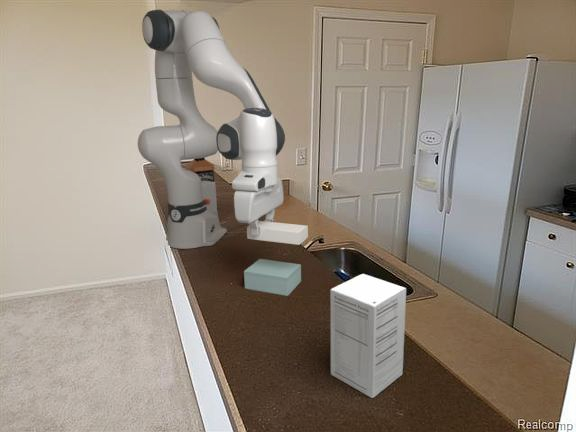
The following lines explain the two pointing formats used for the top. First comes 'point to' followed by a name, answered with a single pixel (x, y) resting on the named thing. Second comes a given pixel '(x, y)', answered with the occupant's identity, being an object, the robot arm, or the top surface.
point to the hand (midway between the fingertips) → (262, 230)
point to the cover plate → (280, 232)
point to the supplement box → (367, 333)
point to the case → (272, 276)
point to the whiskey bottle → (202, 169)
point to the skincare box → (210, 195)
